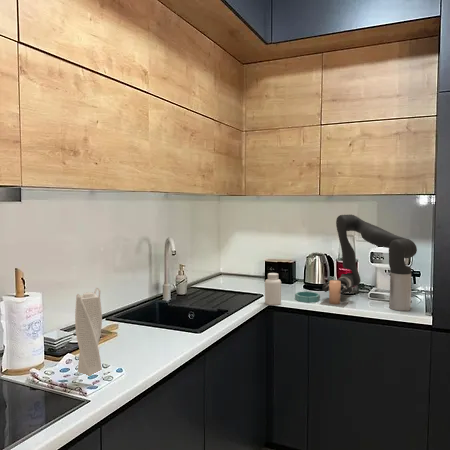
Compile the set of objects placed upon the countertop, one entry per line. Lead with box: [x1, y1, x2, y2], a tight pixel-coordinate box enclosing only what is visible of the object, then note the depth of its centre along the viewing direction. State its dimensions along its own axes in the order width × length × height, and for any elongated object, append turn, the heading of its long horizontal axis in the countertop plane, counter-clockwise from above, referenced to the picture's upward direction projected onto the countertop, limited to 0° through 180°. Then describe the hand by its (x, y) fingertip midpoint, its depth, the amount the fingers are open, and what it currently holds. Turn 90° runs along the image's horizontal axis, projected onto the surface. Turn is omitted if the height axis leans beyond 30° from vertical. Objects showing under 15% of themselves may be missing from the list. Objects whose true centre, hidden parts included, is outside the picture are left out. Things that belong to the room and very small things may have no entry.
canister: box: [328, 279, 341, 304], centre depth 215 cm, size 5×5×11 cm
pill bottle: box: [264, 272, 282, 306], centre depth 216 cm, size 8×8×15 cm
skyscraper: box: [74, 287, 103, 376], centre depth 127 cm, size 8×8×28 cm
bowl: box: [294, 290, 321, 304], centre depth 222 cm, size 12×12×3 cm
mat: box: [319, 298, 350, 308], centre depth 215 cm, size 12×12×1 cm
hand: (333, 291), depth 213 cm, fingers open, 8 cm apart
